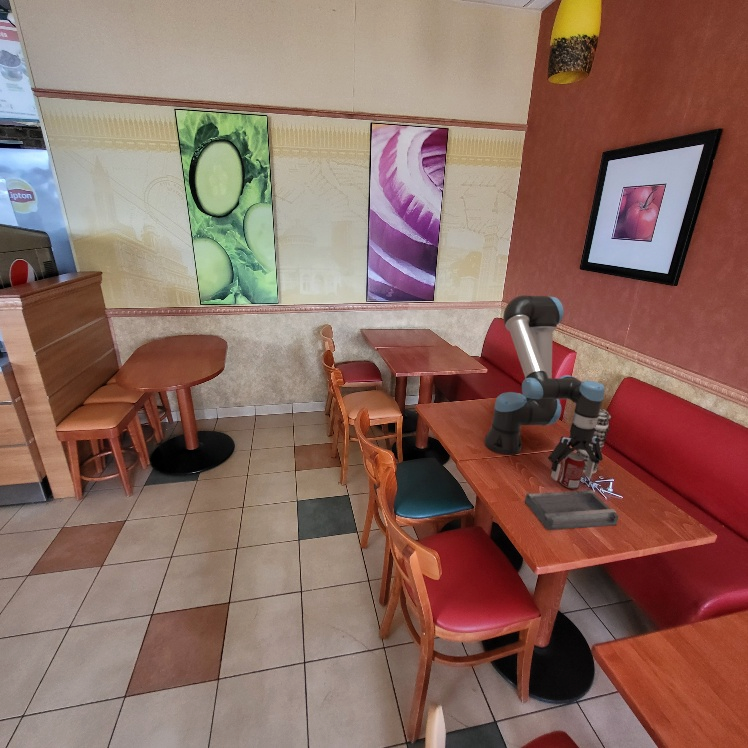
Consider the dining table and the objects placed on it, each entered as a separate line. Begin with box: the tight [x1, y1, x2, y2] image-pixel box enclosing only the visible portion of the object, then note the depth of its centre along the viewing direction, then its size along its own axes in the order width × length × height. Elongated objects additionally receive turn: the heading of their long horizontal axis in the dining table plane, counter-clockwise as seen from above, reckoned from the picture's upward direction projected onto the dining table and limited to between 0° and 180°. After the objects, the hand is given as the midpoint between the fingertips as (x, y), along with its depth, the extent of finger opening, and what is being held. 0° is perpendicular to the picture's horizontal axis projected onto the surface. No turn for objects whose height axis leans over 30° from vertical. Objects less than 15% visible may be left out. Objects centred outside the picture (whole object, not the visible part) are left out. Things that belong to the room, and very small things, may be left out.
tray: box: [524, 488, 620, 531], centre depth 133 cm, size 14×24×4 cm, turn 99°
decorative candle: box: [576, 408, 612, 474], centre depth 156 cm, size 9×9×25 cm
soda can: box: [558, 451, 585, 489], centre depth 147 cm, size 7×7×12 cm
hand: (570, 477), depth 148 cm, fingers open, 13 cm apart
